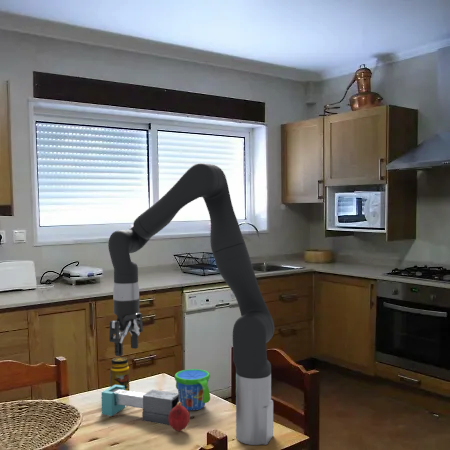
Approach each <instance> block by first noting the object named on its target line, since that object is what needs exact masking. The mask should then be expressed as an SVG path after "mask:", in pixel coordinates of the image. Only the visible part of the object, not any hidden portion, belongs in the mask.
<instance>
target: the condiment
mask: <svg viewBox="0 0 450 450" xmlns="http://www.w3.org/2000/svg"><path fill="white" fill-rule="evenodd" d="M110 362H111V367H110V374H109V375H110V378H109V379H110V387H112V386H113V385H122V386H125V390H127V391H130V367H129V359H128V357H125V356H124V357H123V356H116V357H113V358H112V359H111V361H110ZM101 399H102V396H101Z"/></svg>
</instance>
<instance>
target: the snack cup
mask: <svg viewBox="0 0 450 450" xmlns="http://www.w3.org/2000/svg"><path fill="white" fill-rule="evenodd" d="M210 378H211V374H210V373H209V371H207V370H205V369H199V368H189V369H183V370H179V371H177V372H176V373H175V374H174V380H175V388H176V390H177V393H178V394H179V402H181V403H182V404H181V405H182V406H184V407H185V408H186V409H187V410H188V411H198V410H201V409H203V408H204V407H205V406H206V404H207V403H209V402H210V401H211V393H210V390H209V381H210Z"/></svg>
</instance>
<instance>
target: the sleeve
mask: <svg viewBox="0 0 450 450" xmlns="http://www.w3.org/2000/svg"><path fill="white" fill-rule="evenodd" d="M145 393H146V394H145V395H143V408H142V412H141V413H142V415H141V416H142V419H141V420H142V421H144V422H148V423H149V422H150V423H153V424H154V423H155V424H158V425H165V426H170V424H169V421H168V417H169V413H170V411H171V410H172V409H173V408H174V407H175V406H176V405H177V403H178V402H180V401H179V394H178V392H169V391H163V390H157V389H151V390H149V391H148V392H145Z"/></svg>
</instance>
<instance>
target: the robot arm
mask: <svg viewBox="0 0 450 450" xmlns="http://www.w3.org/2000/svg"><path fill="white" fill-rule="evenodd" d="M199 198H202V199H203V200H204V203H205V206H206V208H207V211H208V215H209V220H210V235H209V236H210V238H209V240H210V248H211V252H212V256H213V259H214V261H215V265H216V267H217V271H218V272H219V274H220V276H221V277H222V279H223V280H224V282H225V283H226V284H227V286H228V288H230V290H231V292H232V293H233V294H234V295H233V296H234V297H235V299H236V302H237V305H238V308H239V310H240V317H239V318H238V319H236V320H235V322H234V324H233V329H232V357H233V363H234V366H235V396H236V397H235V437H236V439H237V441H239V442H241V443H242V444H245V445H250V446H251V445H252V446H260V445H268V444H269V442H271V439H272V438H273V437H274V400H273V399H272V364H271V362H270V361H269V360H268V356H267V355H268V354H267V343H269V342H270V340H271V339H272V338H273V336H274V333H275V323H274V320H273V317H272V315H271V313H270V311H269V307H268V306H267V303H266V301H265V299H264V297H263V295H262V292H261V289H260V286H259V283H258V281H257V277H256V272H255V270H254V267H253V263H252V261H251V257H250V253H249V250H248V248H247V245H246V242H245V239H244V237H243V234H242V230H241V228H240V224H239V221H238V218H237V215H236V213H235V210H234V207H233V204H232V203H233V202H232V199H231V194H230V188H229V185H228V181H227V177H226V174H225V173H224V171H223V169H222V168H221V167H219V166H218V165H215V164H210V163H205V162H199V163H196V164H193V165H192V166H191V167H190V168H188V169H187V170H186V171H185V173H183V175H182V176H181V177H180V178H179V180H178V181H176V183H175V184H174V185H173V186H172V187H171V188H169V190H168V191H167V192H166V193H165V194H164V195H163V196H162V197H161V198H159V200H158V201H156V202H155V203H154V204H152V205H151V206H150V207H149V208H147V209H146V210H145V211H144V212H142V213H141V214H139V216H137V217H136V219H135V220H133V225H132V227H131V228H128V229H121V230H120V229H119V230H116V231H113V232H112V233H111V235H110V236H109V238H108V243H107V244H108V245H107V246H108V247H107V248H108V253H109V256H110V261H111V264H112V266H113V289H112V292H113V293H112V296H113V299H112V301H113V302H112V303H113V305H112V306H113V307H112V308H113V314H114V315H116V320H110V321H109V340H108V341H109V342H110V343H114V355H115V357H123V355H124V351H123V350H124V349H123V347H124V346H123V344H124V343H123V341H124V339H125V337H126V336H127V334H128V333H130V335H131V336H130V348H131V349H135V350H136V349H138V348H139V336H140V333H143V330H144V329H143V328H144V327H143V313H141V312H140V286H139V267H138V263H136V262H134V261H132V259H131V256H130V254H133V253H137V252H138V251H140V250H141V249H142V248H144V246H145V245H146V244H147V243H148V242H149V241H150V240H151V238H152V237H154V236H155V235H156V234H158V233H159V232H161V231H162V230H163V229H164V228H165V227H167V226H168V225H169V224H170V223H171V222H172V220H173V219H174V218H175V216H176V215H177V214H178V213H179V211H181V210H182V208H183V209H184V207H185V206H186V205H188V204H189V203H192V202H193V201H194V200H198V199H199Z"/></svg>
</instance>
